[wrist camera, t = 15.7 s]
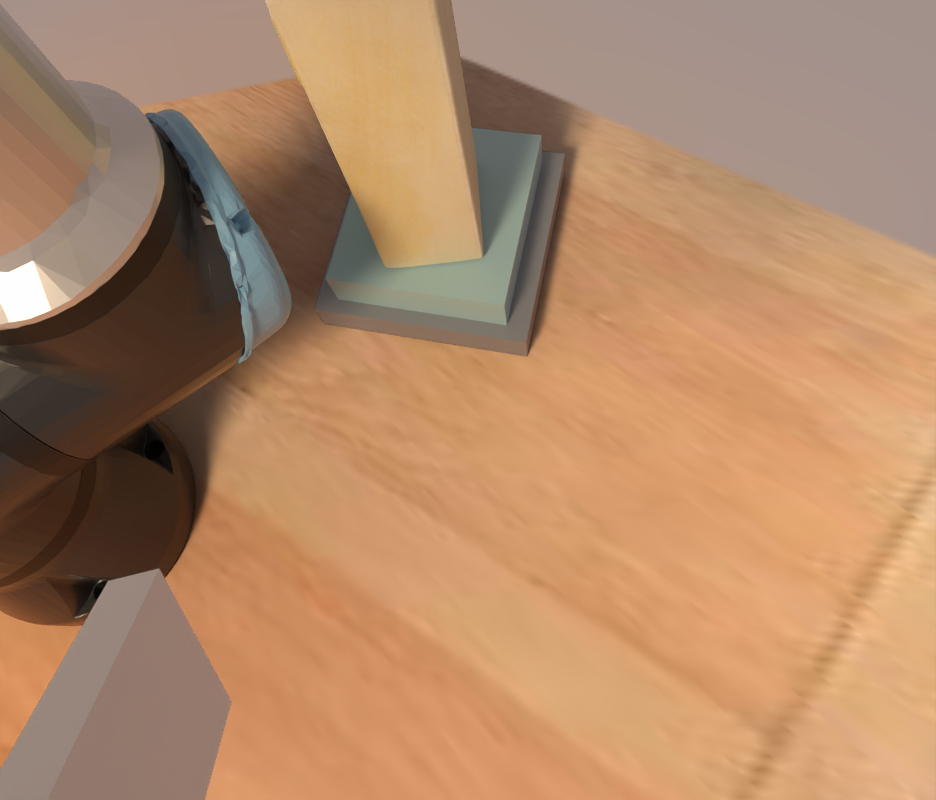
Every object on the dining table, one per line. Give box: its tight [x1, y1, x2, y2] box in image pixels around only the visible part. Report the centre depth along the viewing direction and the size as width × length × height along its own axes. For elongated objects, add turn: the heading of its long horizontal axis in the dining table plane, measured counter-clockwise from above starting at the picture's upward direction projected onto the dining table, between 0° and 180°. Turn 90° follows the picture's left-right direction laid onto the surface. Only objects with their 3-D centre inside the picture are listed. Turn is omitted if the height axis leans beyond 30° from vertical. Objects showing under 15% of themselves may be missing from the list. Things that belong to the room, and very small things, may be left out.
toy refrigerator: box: [265, 0, 483, 268], centre depth 38 cm, size 8×7×21 cm
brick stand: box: [314, 128, 565, 356], centre depth 51 cm, size 15×15×6 cm
